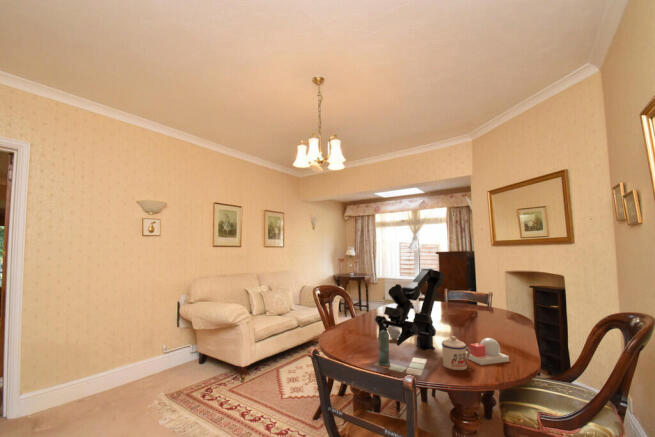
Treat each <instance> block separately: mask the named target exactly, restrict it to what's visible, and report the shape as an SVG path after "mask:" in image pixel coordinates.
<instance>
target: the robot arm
mask: <svg viewBox="0 0 655 437" xmlns="http://www.w3.org/2000/svg"><path fill="white" fill-rule="evenodd" d="M445 277H446V276H445V273H444V272H443V271H442V270H436V269H434V268H429V267H423V268H421V270H420V272H419V273H418V274H417V275H416V276H415V278H414V279H412V282H410V283H406V284H405V285H404V286H402V285H401V284H398V283H396V284H395V285H394V286H392V287H390V289H389V290H388V295H389V296H390V298H391V299H392V301H393V302H394V304H396V307H391V306H385V308H384V314H383V315H376V317H375V318H374V321H375V323H376V324H377V326H378V334H377V336H378V335H379V332H380V331H382V330H385V331H387V332H388V330H387V328H388V327H390V326H394V327H396V328H398V329H401V331H400V336H399V338H398V339H397V341H396V345H397V346H398V347H399V346H400V345H401V344H403V343H404V342H405V341H407V340H409V339H410V338H411V337H414V336H417V337H416V345H415V346H416V347H417V348H419V349H421V350H423V351H426V350H435V349H436V347H435V346H434V337H435V336H436V334H437V333H436V332H437V330H436V328H435V326H434V325H433V324H434V321H433V319H432V313H433V308H434V304H435V300H436V296H437V292H438V290H439V288H440V287H441V286H443V283H444V280H446V278H445ZM426 283H427V287H426V289H425V294H424V297H423V301H422V305H421V308H420V311H419V312H415V313H414V317H413V319H412V321H409V313H410V311H411V309H412V310H414V308H415V307H414V303H413V302H412V301H417V300H418V299H419V298H420V295H421V289H422V288H423V287H424V285H426ZM384 315H386V316H387V317H388V319H389V320H388V319H387V317H386V316H384ZM377 340H378V341H379V336H378V337H377Z"/></svg>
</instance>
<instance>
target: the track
mask: <svg viewBox="0 0 655 437" xmlns="http://www.w3.org/2000/svg"><path fill="white" fill-rule="evenodd" d="M427 360H428V359H427V358H421V357H413V358H412V359H411V362H410V363H409V366H408V367H407V366H404V365H403V366H402V365H397V364H394V363H391V362H390V366H387V367H383V366H380V365H378V362H377V363H376V362H375V363H374V365H375V366H377V367H381V368H384V369H387V368H388V370H391V371H394V372H400V373H403V372H404V371H405V370H406V372H405V374H410V375H415V376H421V377H422V373H423V371H424V369H425V366H426V363H427Z"/></svg>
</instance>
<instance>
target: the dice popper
mask: <svg viewBox="0 0 655 437" xmlns="http://www.w3.org/2000/svg"><path fill="white" fill-rule="evenodd" d="M469 349H470V357H469V358H468V359H467V360H470V361H472V362H474V363H476V364H478V365H480V366H483V365H492V364H499V363H501V364H502V363H507V362H510V357H509V356H510V355H506V354H504V353H501V345H500V343H499V342H498V341H497V340H495V339H494V338H492V337H485V338H483V339H482V340H481V341H480V343H478V342H477V343H476V342H475V343H470V344H469ZM466 355H467V350H466Z"/></svg>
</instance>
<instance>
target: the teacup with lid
mask: <svg viewBox="0 0 655 437" xmlns="http://www.w3.org/2000/svg"><path fill="white" fill-rule="evenodd" d="M441 348H442V349H441V350H442V365H443V367H445V368H447V369H449V370H454V371H456V370H457V371H464V370H468V369H467V368H468V367H467V366H468V363H467V360H469V359H468V358H469V357H470V347H468V346H467V345H466V343H465V342H463V341H460V340H459V339H457V337H456V336H454V335H452V336H451V335H450V338H447V339H446V340H442V342H441ZM466 351H467V355H466Z"/></svg>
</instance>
